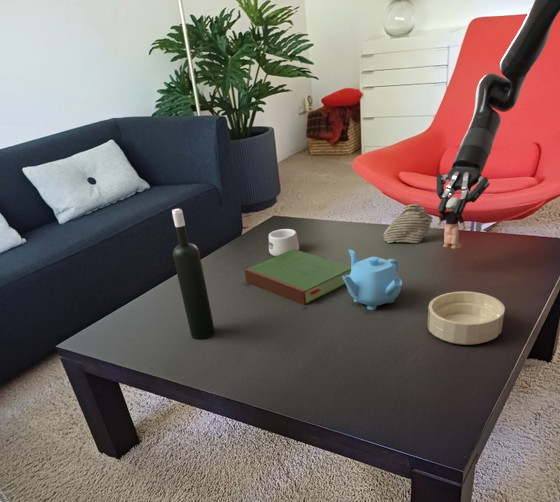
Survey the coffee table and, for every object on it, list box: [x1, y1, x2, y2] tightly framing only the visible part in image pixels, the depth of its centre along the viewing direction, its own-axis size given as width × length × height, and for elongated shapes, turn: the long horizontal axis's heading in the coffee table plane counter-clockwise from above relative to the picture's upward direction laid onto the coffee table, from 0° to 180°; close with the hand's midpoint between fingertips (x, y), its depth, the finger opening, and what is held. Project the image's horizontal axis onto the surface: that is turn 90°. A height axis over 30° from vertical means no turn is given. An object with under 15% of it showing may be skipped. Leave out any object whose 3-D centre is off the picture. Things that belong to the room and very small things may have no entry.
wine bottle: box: [171, 207, 216, 340], centre depth 118 cm, size 6×6×30 cm
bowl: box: [427, 290, 506, 346], centre depth 114 cm, size 15×15×6 cm
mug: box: [268, 228, 300, 257], centre depth 166 cm, size 12×10×6 cm
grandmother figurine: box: [436, 196, 467, 250], centre depth 134 cm, size 8×4×13 cm, turn 58°
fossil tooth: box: [383, 203, 434, 244], centre depth 160 cm, size 12×6×15 cm
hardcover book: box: [244, 249, 351, 306], centre depth 145 cm, size 25×19×4 cm
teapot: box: [342, 248, 403, 311], centre depth 128 cm, size 15×14×11 cm
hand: (448, 214), depth 131 cm, fingers closed on grandmother figurine, 3 cm apart
